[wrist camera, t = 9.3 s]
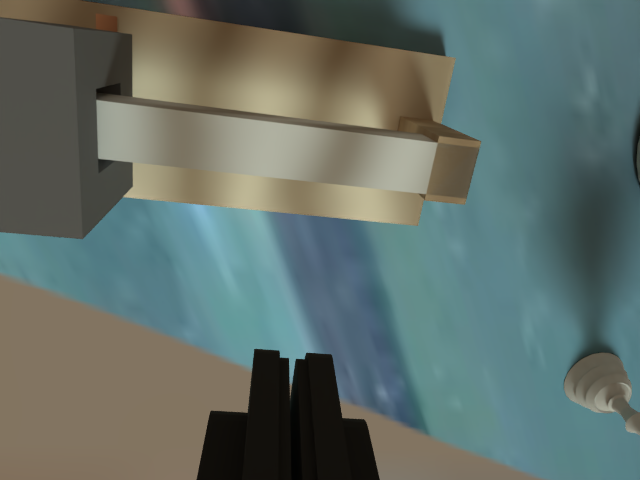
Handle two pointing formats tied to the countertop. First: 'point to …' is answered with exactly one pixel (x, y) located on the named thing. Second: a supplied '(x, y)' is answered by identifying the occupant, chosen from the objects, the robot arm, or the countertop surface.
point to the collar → (58, 126)
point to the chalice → (602, 387)
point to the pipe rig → (273, 117)
